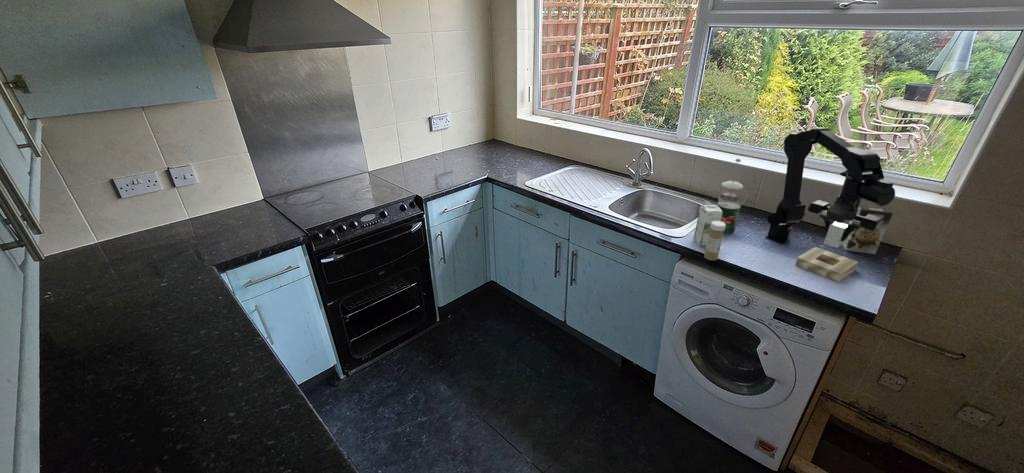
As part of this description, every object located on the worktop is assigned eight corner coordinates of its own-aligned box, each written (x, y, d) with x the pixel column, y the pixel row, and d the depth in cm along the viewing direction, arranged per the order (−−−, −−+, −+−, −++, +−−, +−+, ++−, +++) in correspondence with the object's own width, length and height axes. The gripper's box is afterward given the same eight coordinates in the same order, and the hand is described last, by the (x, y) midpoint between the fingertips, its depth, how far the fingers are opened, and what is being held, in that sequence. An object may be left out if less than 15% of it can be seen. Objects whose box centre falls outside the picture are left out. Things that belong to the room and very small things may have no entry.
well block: (794, 265, 147) (797, 257, 145) (812, 254, 153) (815, 246, 152) (838, 282, 137) (841, 274, 136) (855, 269, 144) (858, 261, 142)
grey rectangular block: (823, 243, 142) (830, 224, 139) (828, 240, 144) (835, 221, 141) (837, 248, 139) (844, 228, 136) (842, 244, 141) (849, 225, 138)
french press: (709, 210, 189) (722, 154, 177) (738, 211, 187) (752, 155, 176) (716, 220, 180) (729, 161, 169) (745, 221, 179) (760, 162, 167)
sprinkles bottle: (710, 253, 154) (717, 219, 148) (720, 259, 151) (729, 224, 145) (700, 256, 153) (708, 221, 147) (711, 262, 149) (719, 227, 143)
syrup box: (708, 239, 164) (715, 204, 158) (714, 246, 159) (723, 210, 153) (693, 239, 164) (700, 204, 158) (699, 247, 159) (707, 210, 152)
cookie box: (845, 250, 155) (861, 209, 148) (840, 243, 161) (855, 202, 154) (876, 254, 153) (893, 213, 145) (869, 246, 158) (886, 206, 151)
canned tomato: (731, 226, 174) (737, 201, 169) (736, 235, 167) (743, 209, 162) (710, 225, 175) (715, 200, 170) (715, 234, 168) (720, 208, 163)
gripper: (807, 190, 136) (792, 234, 143) (877, 209, 122) (858, 257, 130) (823, 183, 142) (808, 226, 149) (892, 200, 128) (872, 247, 135)
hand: (835, 238), depth 140 cm, fingers closed on grey rectangular block, 4 cm apart
